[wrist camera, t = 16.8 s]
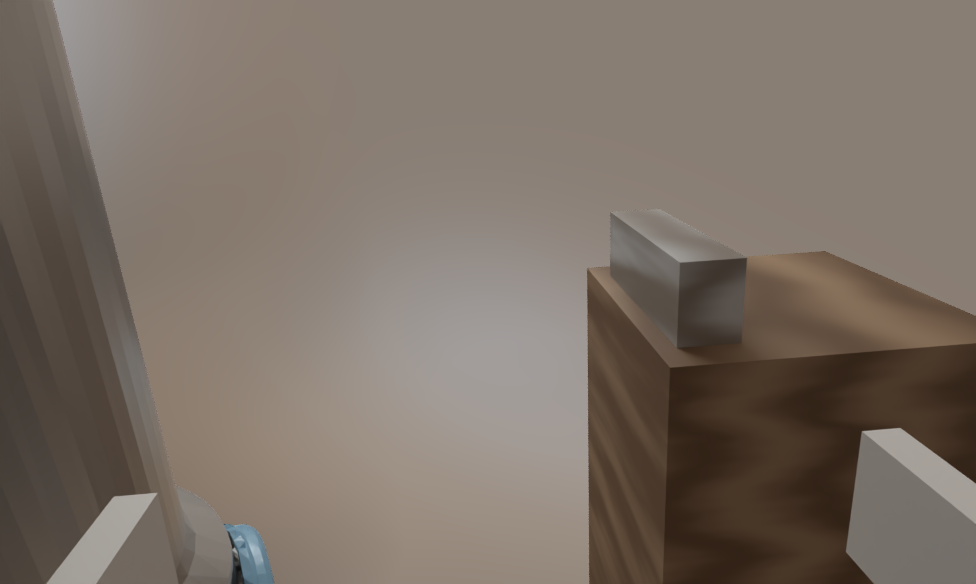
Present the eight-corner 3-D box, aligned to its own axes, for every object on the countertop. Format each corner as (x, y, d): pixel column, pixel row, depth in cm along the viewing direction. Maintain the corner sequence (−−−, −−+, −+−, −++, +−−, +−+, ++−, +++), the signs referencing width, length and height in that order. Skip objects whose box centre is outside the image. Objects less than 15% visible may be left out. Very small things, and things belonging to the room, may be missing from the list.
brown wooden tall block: (653, 860, 37) (673, 276, 27) (589, 635, 52) (586, 207, 42) (927, 826, 38) (1047, 249, 28) (787, 614, 53) (831, 191, 43)
